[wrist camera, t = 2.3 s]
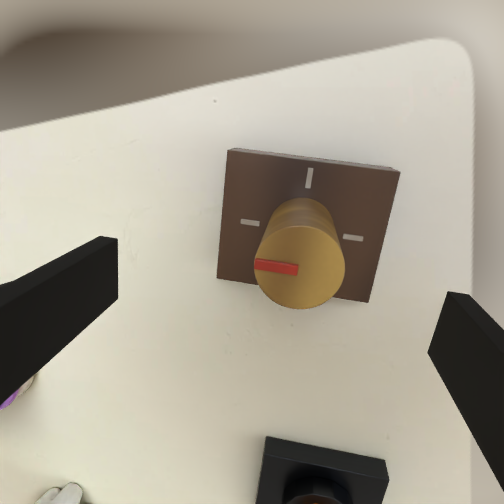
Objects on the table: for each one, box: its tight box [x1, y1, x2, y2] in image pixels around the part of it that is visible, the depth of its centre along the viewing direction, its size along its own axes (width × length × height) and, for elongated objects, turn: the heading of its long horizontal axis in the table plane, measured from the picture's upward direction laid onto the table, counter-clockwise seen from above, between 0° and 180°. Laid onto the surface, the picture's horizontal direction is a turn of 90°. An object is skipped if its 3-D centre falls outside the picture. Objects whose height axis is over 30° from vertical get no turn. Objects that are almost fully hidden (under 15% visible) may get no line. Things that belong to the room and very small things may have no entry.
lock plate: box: [217, 148, 400, 303], centre depth 28 cm, size 12×10×3 cm
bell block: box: [255, 437, 389, 504], centre depth 36 cm, size 12×10×4 cm
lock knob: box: [254, 198, 345, 309], centre depth 23 cm, size 5×5×8 cm
